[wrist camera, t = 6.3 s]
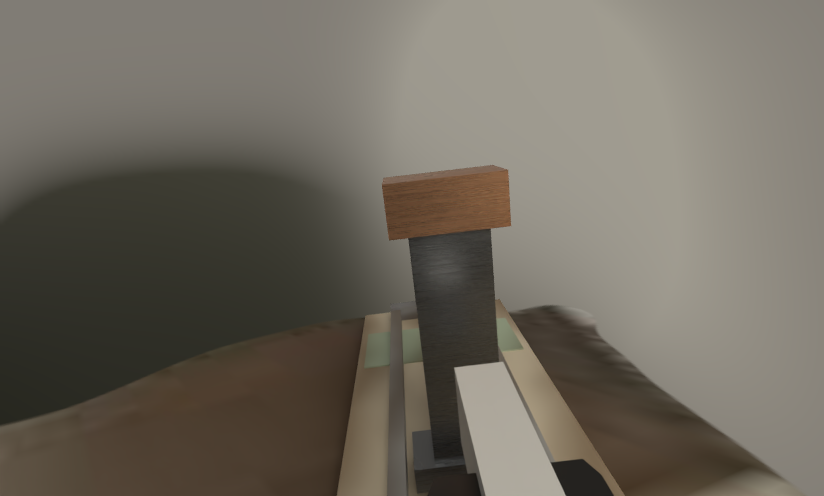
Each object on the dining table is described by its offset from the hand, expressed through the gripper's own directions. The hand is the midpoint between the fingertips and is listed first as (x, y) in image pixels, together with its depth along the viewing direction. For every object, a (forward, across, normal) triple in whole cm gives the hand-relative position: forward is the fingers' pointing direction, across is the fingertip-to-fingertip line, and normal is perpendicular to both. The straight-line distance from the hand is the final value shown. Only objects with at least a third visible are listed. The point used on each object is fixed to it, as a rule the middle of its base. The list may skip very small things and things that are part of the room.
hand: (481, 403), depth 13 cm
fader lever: (+5, 0, -7) cm, 8 cm away
